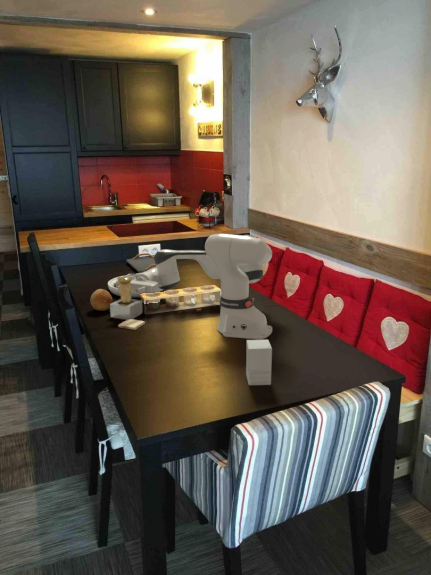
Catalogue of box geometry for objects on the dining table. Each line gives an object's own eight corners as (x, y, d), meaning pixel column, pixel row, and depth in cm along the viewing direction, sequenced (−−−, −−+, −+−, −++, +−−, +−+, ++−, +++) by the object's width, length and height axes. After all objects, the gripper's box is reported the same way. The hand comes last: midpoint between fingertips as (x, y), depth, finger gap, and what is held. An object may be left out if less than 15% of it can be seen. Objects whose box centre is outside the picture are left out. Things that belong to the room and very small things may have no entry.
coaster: (145, 323, 204) (145, 321, 204) (134, 330, 197) (134, 327, 197) (128, 321, 207) (128, 318, 207) (118, 327, 200) (118, 324, 200)
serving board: (177, 273, 286) (177, 263, 284) (139, 277, 277) (139, 267, 275) (159, 259, 320) (158, 250, 318) (124, 263, 311) (124, 253, 310)
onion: (86, 312, 219) (84, 290, 216) (100, 305, 227) (99, 285, 224) (103, 315, 214) (101, 293, 211) (117, 308, 223) (116, 288, 220)
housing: (142, 313, 217) (141, 300, 215) (130, 320, 208) (129, 307, 206) (123, 310, 221) (122, 297, 219) (110, 317, 212) (109, 304, 210)
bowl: (98, 297, 241) (97, 281, 239) (123, 281, 269) (122, 267, 267) (154, 301, 234) (154, 286, 232) (174, 284, 262) (174, 270, 260)
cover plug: (136, 313, 216) (134, 277, 211) (128, 318, 211) (126, 280, 206) (124, 312, 218) (122, 275, 213) (117, 316, 213) (115, 279, 208)
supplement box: (267, 374, 159) (269, 339, 155) (271, 385, 152) (272, 348, 148) (245, 375, 159) (246, 339, 155) (247, 385, 152) (248, 348, 148)
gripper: (164, 291, 223) (148, 299, 211) (126, 286, 231) (109, 294, 219) (163, 277, 221) (148, 285, 209) (125, 273, 229) (108, 280, 217)
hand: (128, 289), depth 214 cm, fingers open, 8 cm apart
